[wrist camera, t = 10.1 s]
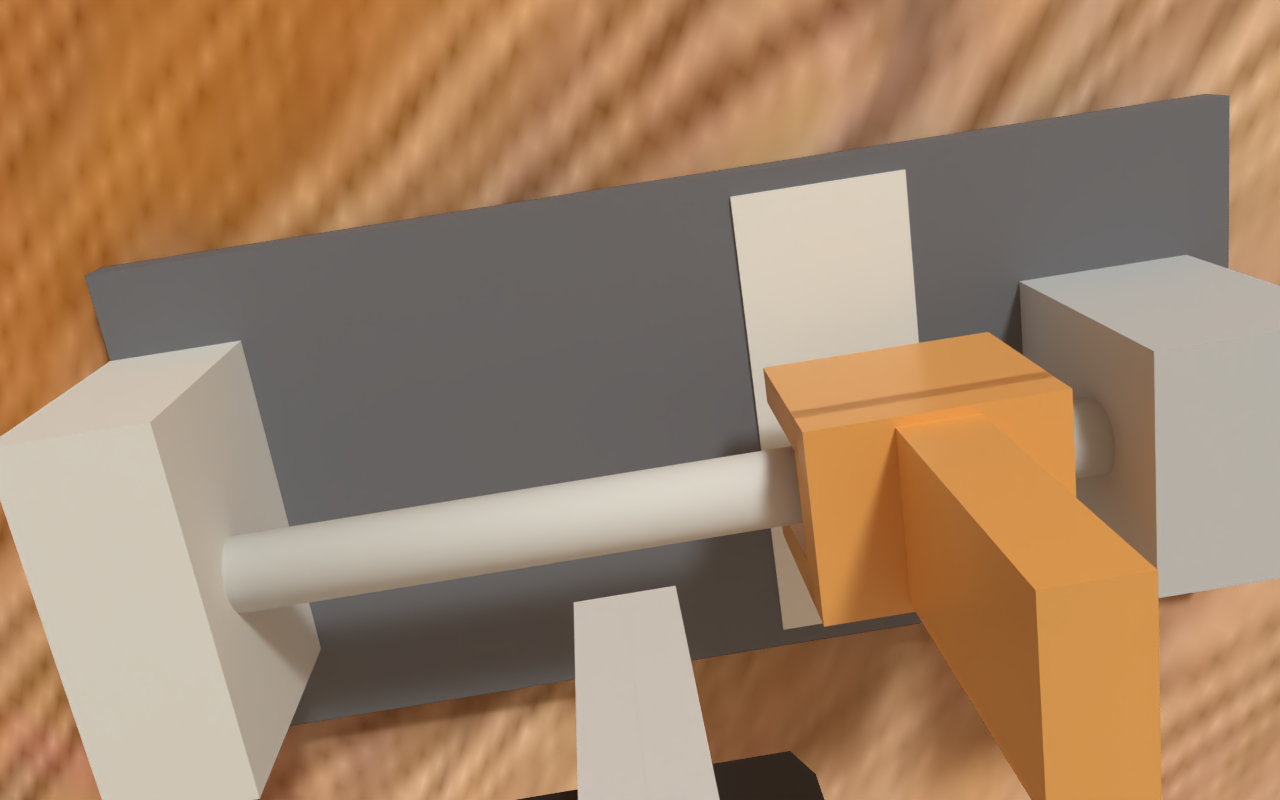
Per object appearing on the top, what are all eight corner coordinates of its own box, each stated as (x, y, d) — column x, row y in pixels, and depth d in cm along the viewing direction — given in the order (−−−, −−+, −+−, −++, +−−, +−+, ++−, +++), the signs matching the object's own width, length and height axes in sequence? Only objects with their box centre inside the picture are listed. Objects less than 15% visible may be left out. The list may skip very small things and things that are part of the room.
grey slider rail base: (232, 714, 30) (128, 922, 23) (102, 267, 27) (-69, 348, 19) (1205, 556, 31) (1401, 713, 23) (1206, 94, 27) (1436, 111, 20)
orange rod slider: (783, 534, 26) (925, 856, 16) (763, 367, 25) (903, 598, 15) (998, 499, 26) (1282, 798, 16) (988, 331, 25) (1287, 534, 15)
